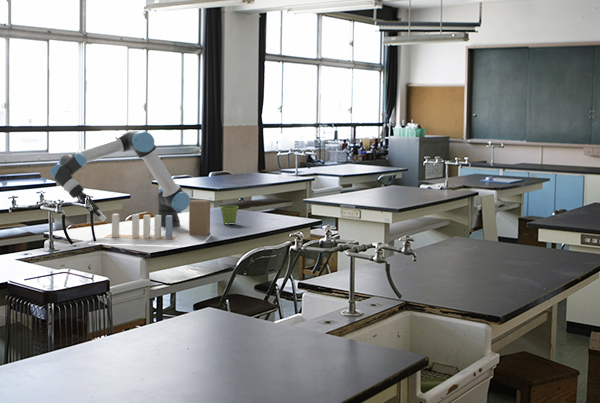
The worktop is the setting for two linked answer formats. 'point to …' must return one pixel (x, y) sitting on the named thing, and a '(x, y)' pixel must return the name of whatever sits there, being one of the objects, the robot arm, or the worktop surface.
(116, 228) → the tile
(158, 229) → the tile
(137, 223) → the tile
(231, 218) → the plant pot
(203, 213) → the wooden block
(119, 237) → the oak board
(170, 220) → the tile
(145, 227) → the tile
